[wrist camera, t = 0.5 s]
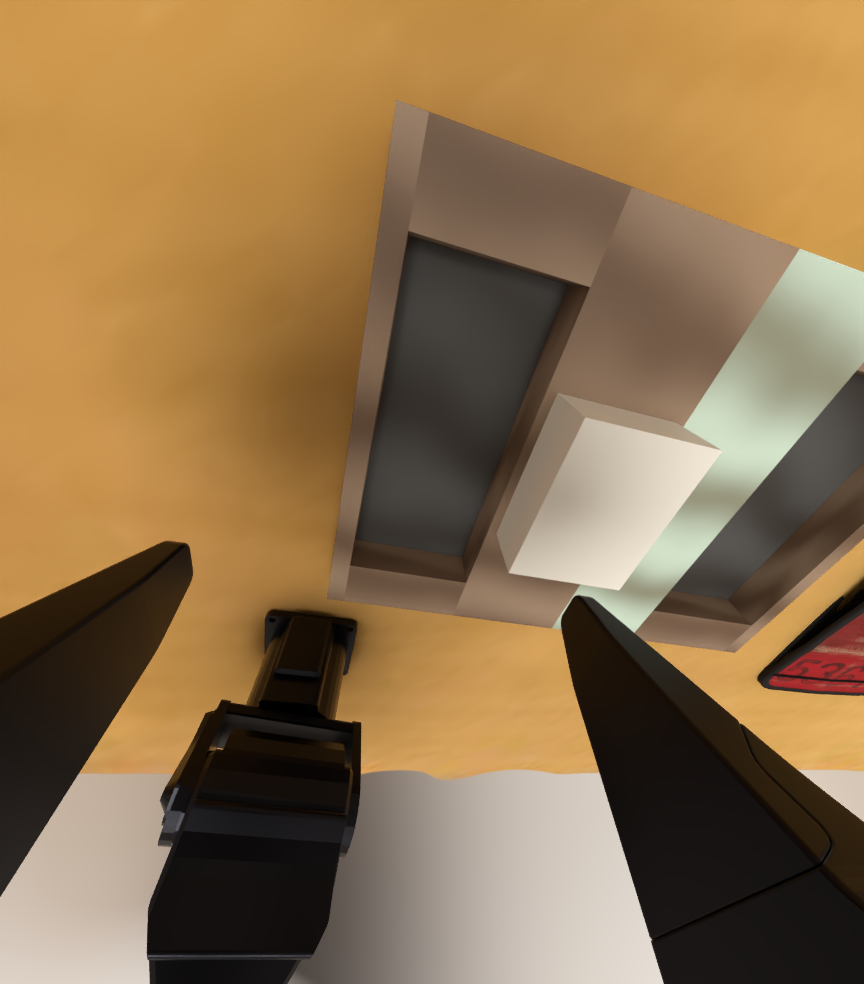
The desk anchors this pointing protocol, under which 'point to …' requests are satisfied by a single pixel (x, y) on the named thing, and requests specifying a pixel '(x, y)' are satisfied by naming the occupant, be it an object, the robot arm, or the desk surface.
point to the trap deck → (592, 388)
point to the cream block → (598, 492)
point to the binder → (823, 655)
